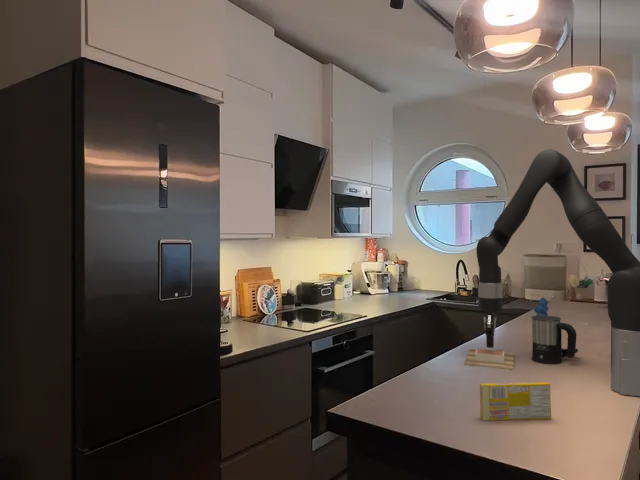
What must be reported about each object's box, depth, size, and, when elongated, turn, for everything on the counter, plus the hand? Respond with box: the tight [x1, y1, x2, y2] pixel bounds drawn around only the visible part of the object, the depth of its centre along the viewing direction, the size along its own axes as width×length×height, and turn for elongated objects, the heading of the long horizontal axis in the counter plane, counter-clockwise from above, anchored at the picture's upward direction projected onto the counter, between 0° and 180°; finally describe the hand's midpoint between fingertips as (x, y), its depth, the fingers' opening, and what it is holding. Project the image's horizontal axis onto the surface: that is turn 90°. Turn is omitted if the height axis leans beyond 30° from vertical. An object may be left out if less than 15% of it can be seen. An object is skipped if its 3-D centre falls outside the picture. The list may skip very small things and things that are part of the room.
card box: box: [475, 348, 505, 363], centre depth 158 cm, size 3×9×6 cm
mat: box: [464, 348, 515, 370], centre depth 161 cm, size 20×15×1 cm
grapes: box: [533, 296, 549, 316], centre depth 228 cm, size 12×7×12 cm, turn 138°
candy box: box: [479, 381, 552, 421], centre depth 109 cm, size 16×2×8 cm, turn 92°
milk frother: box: [531, 315, 579, 365], centre depth 161 cm, size 14×16×15 cm
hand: (490, 347), depth 157 cm, fingers closed
